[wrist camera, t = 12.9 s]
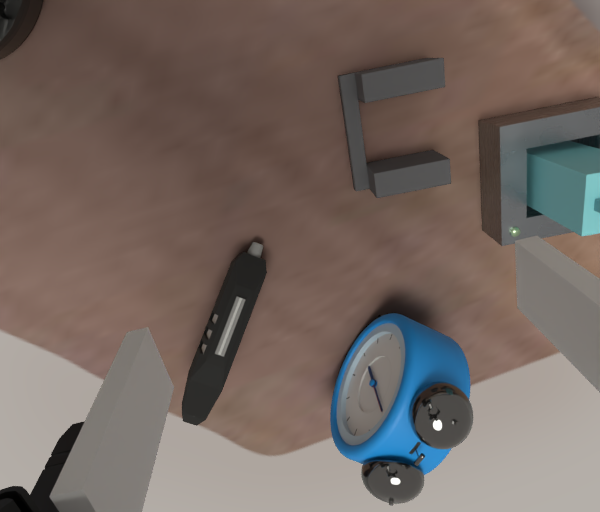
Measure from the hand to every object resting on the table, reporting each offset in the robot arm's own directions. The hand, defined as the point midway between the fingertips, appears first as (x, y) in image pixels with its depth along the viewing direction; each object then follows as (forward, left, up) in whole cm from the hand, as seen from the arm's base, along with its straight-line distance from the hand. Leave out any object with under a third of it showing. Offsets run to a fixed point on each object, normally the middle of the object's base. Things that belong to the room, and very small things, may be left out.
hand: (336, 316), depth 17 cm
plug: (+4, +21, -25) cm, 33 cm away
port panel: (+4, +21, -26) cm, 33 cm away
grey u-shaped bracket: (-2, +9, -26) cm, 27 cm away
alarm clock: (+20, +5, -26) cm, 33 cm away
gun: (+12, -9, -26) cm, 30 cm away
